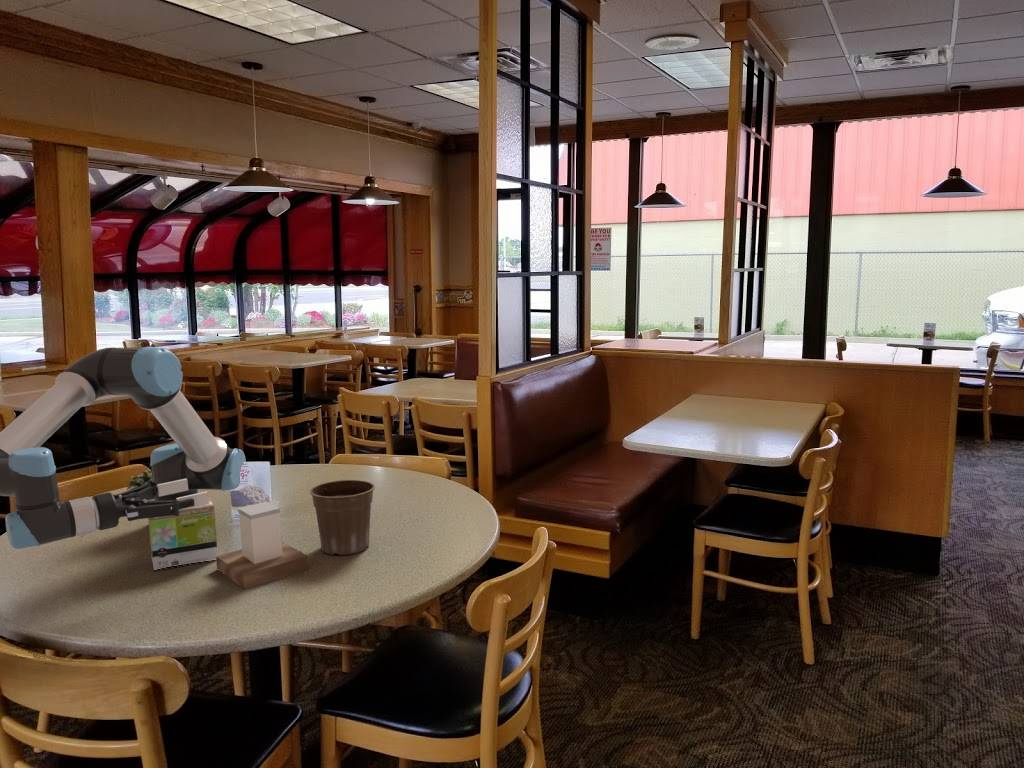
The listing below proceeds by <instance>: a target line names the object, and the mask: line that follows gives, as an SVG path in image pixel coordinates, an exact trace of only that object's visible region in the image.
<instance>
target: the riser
mask: <svg viewBox="0 0 1024 768" xmlns="http://www.w3.org/2000/svg"><path fill="white" fill-rule="evenodd" d="M282 555H283V556H281V557H277V558H274V559H270V560H267V561H263V562H260V563H256V564H254V563H252V562H251V561H249V560H248V559H247V558H245V557H244V556H243V554H242V548H241V549H237V550H235V551H231V552H227V553H223V554H219V555H217V556H216V570H217V569H219V570H220V571H221V572H222V574H223V573H224V574H225V575H224V574H223V575H224V576H226V577H227V576H228V577H229V580H231V579H232V580H231V581H233V582H234V583H236V584H237V585H238V586H240V587H241V588H243V589H249V588H251V587H255V586H258V585H259V586H260V585H261V584H265V583H269V582H272V581H275V580H278V579H281V578H284V577H287V576H291V575H294V574H297V573H300V572H305V571H308V570H309V556H308V555H307V554H305V553H303V552H302V551H300V550H298V549H296V548H294V547H293V546H290V545H289V544H287V543H285V542H283V541H282ZM220 571H219V572H220ZM221 572H220V573H221ZM228 577H227V578H228Z"/></svg>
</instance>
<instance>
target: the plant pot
mask: <svg viewBox="0 0 1024 768" xmlns="http://www.w3.org/2000/svg"><path fill="white" fill-rule="evenodd" d="M375 488H376V486H375V484H374V483H373V482H371V481H367V480H361V479H342V480H332V481H326V482H323V483H320V484H317V485H315V486H313V487H311V489H310V490H309V494H310V495H311V496H312V497H311V498H312V502H313V507H314V509H315V512H316V513H315V514H316V519H317V527H318V532H319V540H320V548H321V551H322V552H323V553H325V554H327V555H332V556H333V555H335V554H337V555H339V556H347V555H348V556H349V555H355V554H358V553H361V552H364V551H366V549H367V548H369V546H370V530H371V529H370V527H371V508H372V506H371V505H372V503H373V495H374V490H375Z"/></svg>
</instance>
